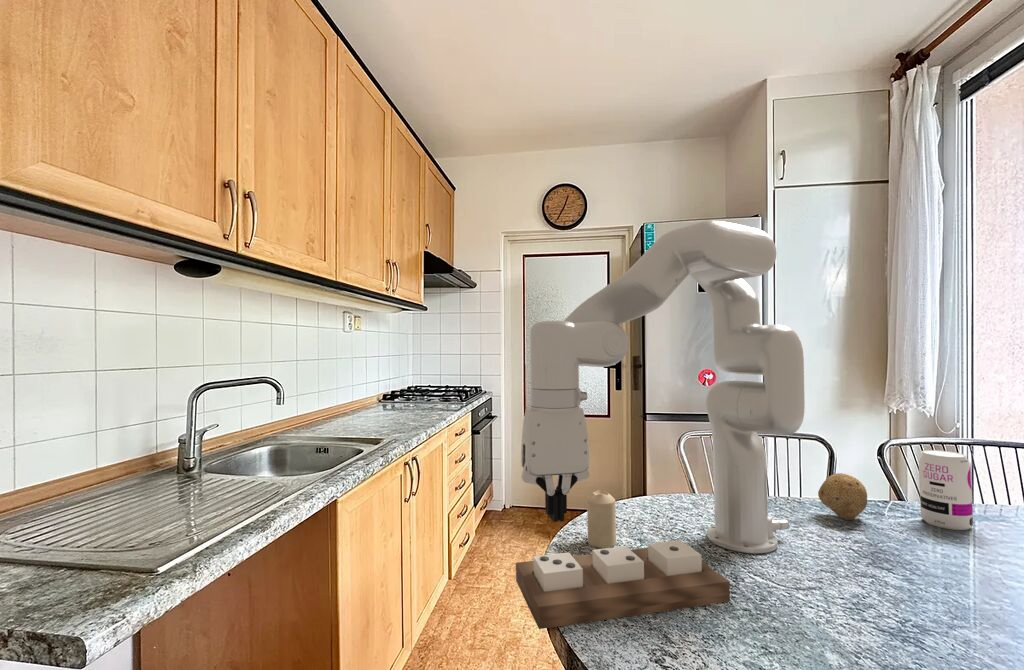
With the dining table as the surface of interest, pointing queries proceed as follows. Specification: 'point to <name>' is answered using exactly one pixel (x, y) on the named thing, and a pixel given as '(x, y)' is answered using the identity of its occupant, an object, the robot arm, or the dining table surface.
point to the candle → (601, 520)
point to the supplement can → (946, 489)
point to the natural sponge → (843, 495)
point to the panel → (619, 593)
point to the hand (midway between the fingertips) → (556, 518)
